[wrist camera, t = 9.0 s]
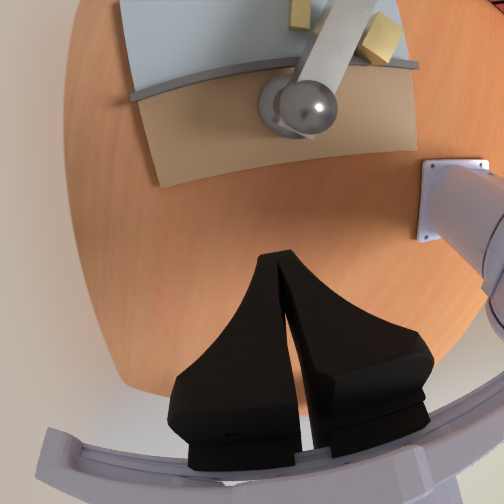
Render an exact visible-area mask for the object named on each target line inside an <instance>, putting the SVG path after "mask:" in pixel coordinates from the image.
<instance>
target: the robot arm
mask: <svg viewBox="0 0 504 504" xmlns="http://www.w3.org/2000/svg"><path fill="white" fill-rule="evenodd" d="M431 164H432V167H431ZM479 164H480V165H479ZM488 168H489V162H488V160H486V159H438V160H425V161H424V162H423V164H422V185H421V200H420V212H419V222H418V230H417V241H418V242H420V243H422V242H427V241H431V240H436V239H440V238H442V239H444V240H445V241H446V242H447V243H448V244H449V245H450V246H451V247H452V248H453V249H454V250H455V251H456V252H457V253H458V254H459V255H460V256H461V257H462V258H463V259H464V260H465V261H466V262H467V263H468V264H469V265H470V266H471V267H472V268H473V269H474V270H475V271H476V272H477V273H478V274H479V275H480V276H481V277H482V278H483V279H484V280H483V284H482V286H481V289H482V290H483V291H484V292H485V294H486V295H487V296H488V299H487V301H486V313H487V316H488V319H489V322H490V324H491V326H492V328H493V330H494V331H495V333H496V334H497V335H498V336H499V337H500V339H502V340H503V341H504V178H502V177H501V176H499V175H497V174H495V173H493V172H491V171H489V170H488ZM425 236H426V237H425ZM424 237H425V238H424ZM285 314H286V317H287V321H288V324H289V327H290V331H291V334H292V337H293V341H294V344H295V347H296V351H297V354H298V358H299V362H300V367H301V372H302V378H303V383H304V389H305V395H306V401H307V407H308V413H309V419H310V426H311V432H312V439H313V446H314V450H308V451H303V452H302V442H301V430H300V420H299V411H298V402H297V395H296V389H295V383H294V377H293V372H292V367H291V362H290V356H289V351H288V346H287V334H286V320H285ZM433 366H434V357H433V355H432V354H431V352H430V350H429V348H428V346H427V345H426V343H425V342H424V340H423V339H422V338H421V336H420V335H419V333H418V332H416V331H413V330H410V329H407V328H404V327H401V326H398V325H395V324H392V323H390V322H387V321H385V320H383V319H380V318H378V317H376V316H374V315H372V314H369V313H367V312H366V311H364V310H362V309H360V308H358V307H356V306H355V305H353V304H351V303H350V302H348V301H346V300H345V299H343V298H342V297H341V296H339V295H338V294H336V293H335V292H334V291H332V290H331V289H330V288H329V287H327V286H326V285H325V284H324V283H323V282H321V281H320V280H319V279H318V278H317V277H316V276H315V275H314V274H313V273H312V272H311V271H310V270H309V269H308V268H307V267H306V266H305V265H304V264H303V263H302V262H301V261H300V260H299V258H298V257H297V256H296V255H295V254H294V252H293V251H292V250H285V251H279V252H273V253H268V254H262V255H260V256H259V257H258V260H257V265H256V269H255V272H254V275H253V278H252V280H251V283H250V285H249V288H248V290H247V292H246V294H245V296H244V298H243V300H242V302H241V304H240V306H239V308H238V309H237V311H236V313H235V314H234V316H233V317H232V319H231V321H230V322H229V323H228V325H227V326H226V327H225V329H224V330H223V332H222V333H221V334H220V335H219V337H218V338H217V339H216V340H215V341H214V343H213V344H212V345H211V346H210V347H209V348H208V349H207V350H206V351H205V352H204V353H203V354H202V355H201V356H200V357H199V358H198V359H197V360H196V361H195V362H194V363H193V364H192V365H191V366H189V367H188V368H187V369H186V370H185V371H183V372H182V373H181V374H180V375H178V376H177V377H176V381H175V384H174V387H173V390H172V394H171V397H170V404H169V411H168V418H167V421H168V425H169V426H170V428H171V429H172V430H173V431H174V432H175V433H176V434H178V435H179V436H180V437H181V438H182V439H183V440H185V441H186V442H187V443H188V444H189V452H188V459H183V458H168V457H158V456H149V455H140V454H134V453H128V452H122V451H116V450H111V449H106V448H102V447H97V446H93V445H89V444H85V443H82V442H81V441H80V440H79V439H77V438H76V437H74V436H73V435H71V434H68V433H66V432H63V431H59V430H56V429H53V428H50V427H49V428H47V431H46V435H45V438H44V441H43V445H42V448H41V452H40V456H39V460H38V464H37V468H36V473H35V477H36V478H37V479H38V480H40V481H42V482H44V483H46V484H48V485H50V486H52V487H54V488H56V489H58V490H60V491H62V492H64V493H66V494H68V495H71V496H73V497H75V498H77V499H80V500H82V501H84V502H87V503H89V504H463V502H462V498H461V494H460V490H459V486H458V483H457V480H456V475H457V474H459V473H461V472H462V471H464V470H466V469H467V468H468V467H470V466H472V465H473V464H475V463H476V462H477V461H479V460H480V459H482V458H483V457H485V456H486V455H487V454H489V453H490V452H491V451H493V450H494V449H495V448H497V447H498V446H499V445H500V444H502V443H503V442H504V371H503V372H502V373H500V374H499V375H498V376H496V377H494V378H493V379H491V380H490V381H488V382H487V383H485V384H483V385H482V386H480V387H479V388H477V389H475V390H473V391H472V392H470V393H468V394H466V395H465V396H463V397H461V398H459V399H457V400H455V401H453V402H451V403H450V404H448V405H446V406H444V407H441V408H439V409H437V410H435V411H433V412H431V413H429V414H428V412H427V410H426V407H425V405H424V402H423V401H424V400H425V394H424V392H423V389H422V387H423V385H424V384H425V382H426V380H427V379H428V377H429V375H430V374H431V371H432V369H433ZM402 447H404V448H402ZM400 448H401V449H400ZM397 449H398V450H397ZM394 450H395V451H394ZM263 479H265V480H263ZM248 480H257V481H249V482H244V483H239V484H236V485H235V486H225V485H224V484H223V483H222V482H217V481H248Z"/></svg>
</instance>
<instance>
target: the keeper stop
mask: <svg viewBox="0 0 504 504" xmlns="http://www.w3.org/2000/svg"><path fill="white" fill-rule="evenodd" d="M403 32H404V29H403V28H402V27H401V26H399V25H398V24H397V23H395V22H394V21H393V20H391V19H390V18H389V17H387V16H386V15H384V14H383V13H382V12H380V11H379V12H377V13H375V14H373V15H371V16H370V18H369V20H368V22H367V24H366V27H365V29H364V31H363V33H362V36H361V38H360V40H359V42H358V44H357V47H356V49H355V51H354V53H353V55H352V56H361V57H362V58H364V59H365V60H367V61H368V62H369V63H371V64H372V65H367V66H366V67H369V66H375V65H381V64H387V63H389V61H390V59H391V57H392V55H393V53H394V51H395V49H396V47H397V45H398V43H399V41H400V39H401V37H402V34H403Z"/></svg>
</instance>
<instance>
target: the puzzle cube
mask: <svg viewBox="0 0 504 504" xmlns="http://www.w3.org/2000/svg"><path fill="white" fill-rule="evenodd" d="M490 1H491V2H492V3H493V4H494V5H495V6H497V7H498V8H499V9H500V10H501V11H502V12H503V13H504V0H490Z"/></svg>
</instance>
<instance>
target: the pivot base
mask: <svg viewBox="0 0 504 504" xmlns="http://www.w3.org/2000/svg"><path fill="white" fill-rule="evenodd" d="M291 76H292V73H285V74H282V75H279V76H277V77H275V78H273V79H272V80H270V81H269V82H268V83H267V84H266V85H265V86H264V87H263V88H262V90H261V92H260V94H259V97H258V102H257V107H258V112H259V116H260V118H261V120H262V121H263V123H264V124H265V125H266V126H267V127H268V128H269V129H270V130H271V131H272V132H274V133H275V134H277V135H279V136H281V137H284V138H287V139H295V140H296V139H304V138H307V137H305V136H303V135H300V134H298V133H296V132H294V131H291V130H289V129H287V128H284V127H282V126H280V125H277V124H276V123H274V122H272V121H271V120H272V118H273V115H274V111H273V99H274V97H275V95H276V93H277V92H278V91H279V90H280V89H281V88H283V87H285V86H287V84H288V82H289V80H290V78H291Z"/></svg>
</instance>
